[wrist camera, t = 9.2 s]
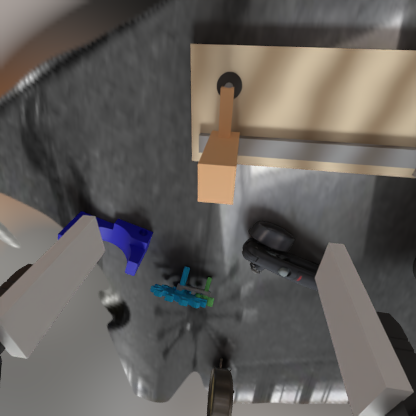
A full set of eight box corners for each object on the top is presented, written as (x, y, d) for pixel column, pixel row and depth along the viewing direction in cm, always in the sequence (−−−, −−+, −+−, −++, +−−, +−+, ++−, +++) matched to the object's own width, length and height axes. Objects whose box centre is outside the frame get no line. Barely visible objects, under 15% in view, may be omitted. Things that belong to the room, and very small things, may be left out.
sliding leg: (244, 82, 24) (242, 101, 16) (237, 160, 29) (232, 204, 21) (214, 81, 24) (198, 98, 16) (211, 158, 29) (197, 201, 21)
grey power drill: (215, 353, 59) (206, 444, 46) (237, 358, 59) (234, 450, 45) (209, 373, 65) (199, 457, 52) (229, 377, 65) (224, 463, 52)
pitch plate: (500, 52, 22) (692, 58, 12) (429, 173, 29) (518, 237, 19) (193, 44, 25) (159, 43, 15) (194, 156, 31) (170, 204, 22)
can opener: (232, 239, 39) (230, 266, 34) (260, 210, 35) (262, 236, 30) (317, 288, 42) (325, 318, 38) (350, 266, 38) (364, 297, 34)
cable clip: (153, 231, 40) (140, 257, 35) (147, 249, 42) (133, 276, 38) (82, 203, 39) (58, 226, 34) (80, 223, 41) (57, 247, 36)
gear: (148, 288, 46) (150, 302, 36) (158, 257, 47) (162, 263, 37) (203, 301, 48) (218, 318, 38) (211, 271, 49) (228, 280, 39)
